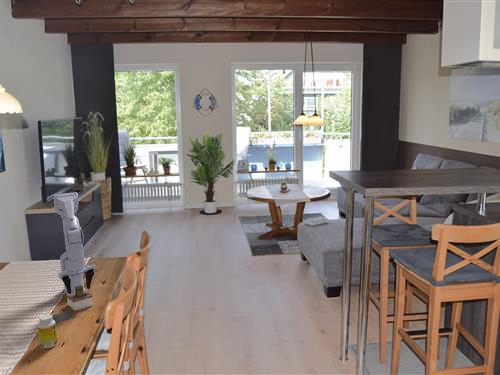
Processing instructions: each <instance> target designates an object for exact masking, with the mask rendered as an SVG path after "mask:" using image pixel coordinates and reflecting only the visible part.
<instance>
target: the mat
mask: <svg viewBox="0 0 500 375" xmlns="http://www.w3.org/2000/svg"><path fill="white" fill-rule="evenodd" d="M51 315H52V318H53V320H54V321H55V323H56V324H57V323H61V322H64V321H67V320H70V319H73V318H77V316H76V314H74V313H73V312H72V311H71V310H65V311H62V312H59V313H58V312H57V313H55V314H51Z"/></svg>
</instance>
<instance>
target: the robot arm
mask: <svg viewBox="0 0 500 375" xmlns="http://www.w3.org/2000/svg"><path fill="white" fill-rule="evenodd" d="M79 202H80V200H79V194H78V192H76V191H75V192H68V193H67V192H65V193H58V194H56V193H54V195H53V205H54V210H55V214H57V215H60V217H61V220H62V226H63V227H62V229H63V235H64V236H63V237H64V243H65V250H66V251H64V253H62V254H61V255H60V270H61V271H59V272H58V273H57V277H58V279H61V281H62V283H63V289H62V290H61V291H62V292H63V291H64V292H63V293H64V294H66V296H67V295H68V294H72V293H75V286H79V285H81V286H83V290H86V291H88V290H90V289H91V284H92V280H93V277H94V276H95V271H96V270H97V268H96V265H95V264H88V265H86V259H85V255H84V246H83V243H84V239H85V238H84V237H85V236H84V231H83V229H82V227H81V226H80V222H79V218H78V217H77V216H75V214H76V213H77V212H78V211H79V210H78V209H79ZM84 278H85V283H84ZM84 284H85V285H84ZM85 286H86V288H85Z"/></svg>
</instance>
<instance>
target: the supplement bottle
mask: <svg viewBox="0 0 500 375" xmlns="http://www.w3.org/2000/svg"><path fill="white" fill-rule="evenodd" d="M52 315H53V314H44V315H42V316H40V317H39V322H38V324H37V332H38V341H39V342H38V343H39V347H40V348H41V349H50V348H53V347H55V346H56V345H57V344H58V336H57V334H58V333H57V325H56V324H57V323H55V321H54V320H53V318H52Z"/></svg>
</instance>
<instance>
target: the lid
mask: <svg viewBox="0 0 500 375" xmlns="http://www.w3.org/2000/svg"><path fill="white" fill-rule="evenodd" d="M86 290H87V289H86ZM86 290H83V286H81V285H79V286H75V293H72V294H68V295H67V294H66V298H67V297H68V298H69V299H70V300H71V301H72V302H77V301H80V300H84V299H87V298H91V297H92V298H93V297H94V296H93V294H92V293H90V291H88V290H87V291H86Z"/></svg>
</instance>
